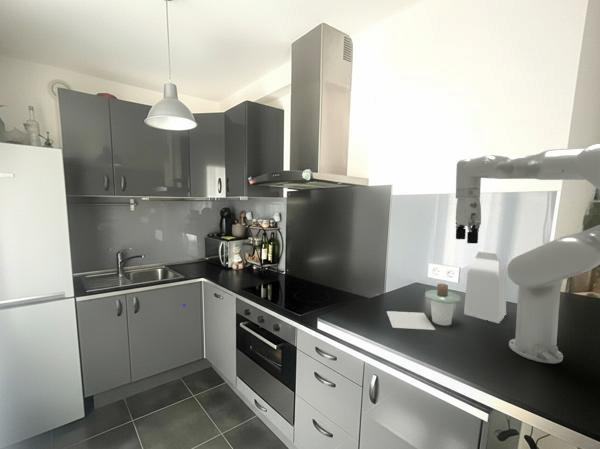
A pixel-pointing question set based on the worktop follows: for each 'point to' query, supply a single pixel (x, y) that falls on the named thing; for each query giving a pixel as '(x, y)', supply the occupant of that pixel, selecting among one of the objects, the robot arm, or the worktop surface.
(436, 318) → the white cup
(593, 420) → the worktop surface
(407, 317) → the mat
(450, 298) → the lid
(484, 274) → the milk
